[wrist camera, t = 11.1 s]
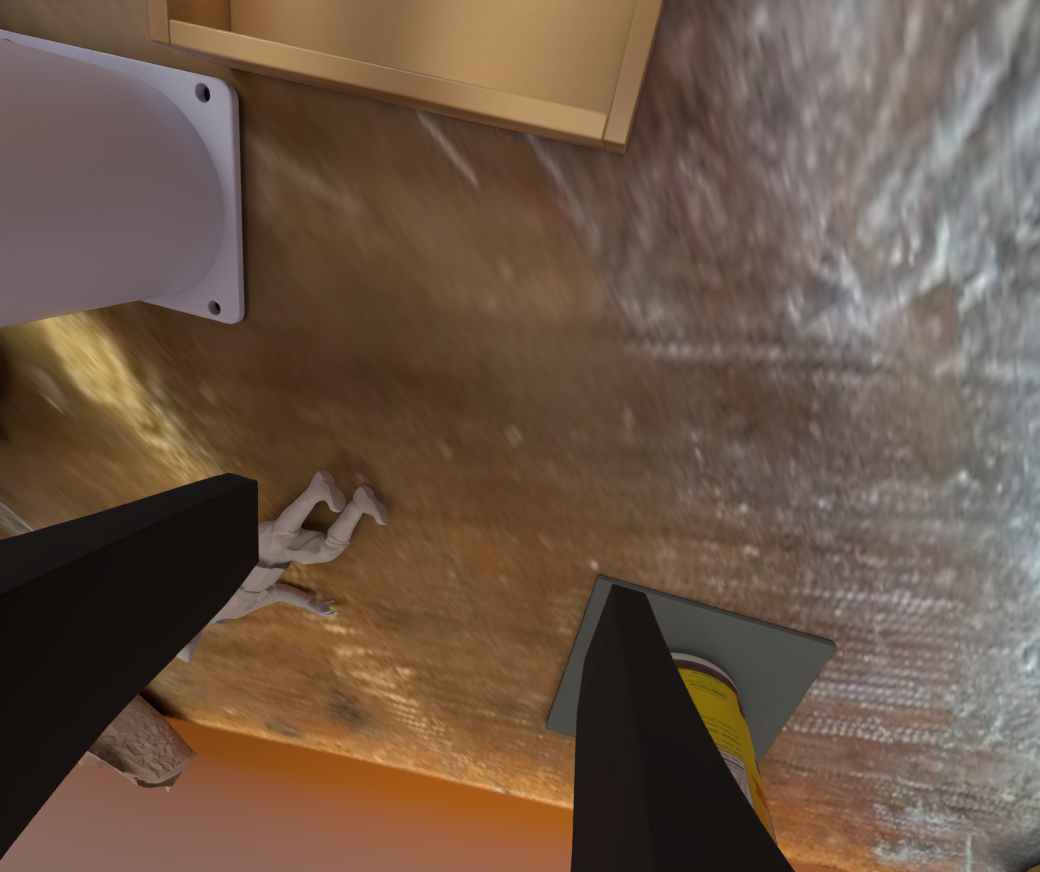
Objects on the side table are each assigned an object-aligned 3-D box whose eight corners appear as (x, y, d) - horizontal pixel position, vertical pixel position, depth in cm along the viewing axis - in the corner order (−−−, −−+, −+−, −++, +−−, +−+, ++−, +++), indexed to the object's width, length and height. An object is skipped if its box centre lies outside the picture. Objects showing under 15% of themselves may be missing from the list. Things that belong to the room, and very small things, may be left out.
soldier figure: (436, 533, 24) (269, 702, 25) (393, 465, 27) (245, 621, 28) (300, 492, 18) (86, 721, 19) (262, 408, 20) (78, 613, 22)
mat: (545, 723, 26) (545, 728, 26) (598, 573, 22) (598, 578, 22) (740, 783, 26) (741, 790, 25) (834, 641, 21) (836, 647, 21)
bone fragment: (-44, 631, 26) (33, 588, 31) (-101, 724, 27) (-17, 668, 32) (196, 755, 29) (236, 698, 33) (138, 838, 29) (184, 771, 34)
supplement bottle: (706, 748, 25) (755, 1070, 16) (596, 707, 25) (580, 1001, 16) (763, 672, 22) (862, 1001, 13) (641, 627, 22) (653, 920, 13)
